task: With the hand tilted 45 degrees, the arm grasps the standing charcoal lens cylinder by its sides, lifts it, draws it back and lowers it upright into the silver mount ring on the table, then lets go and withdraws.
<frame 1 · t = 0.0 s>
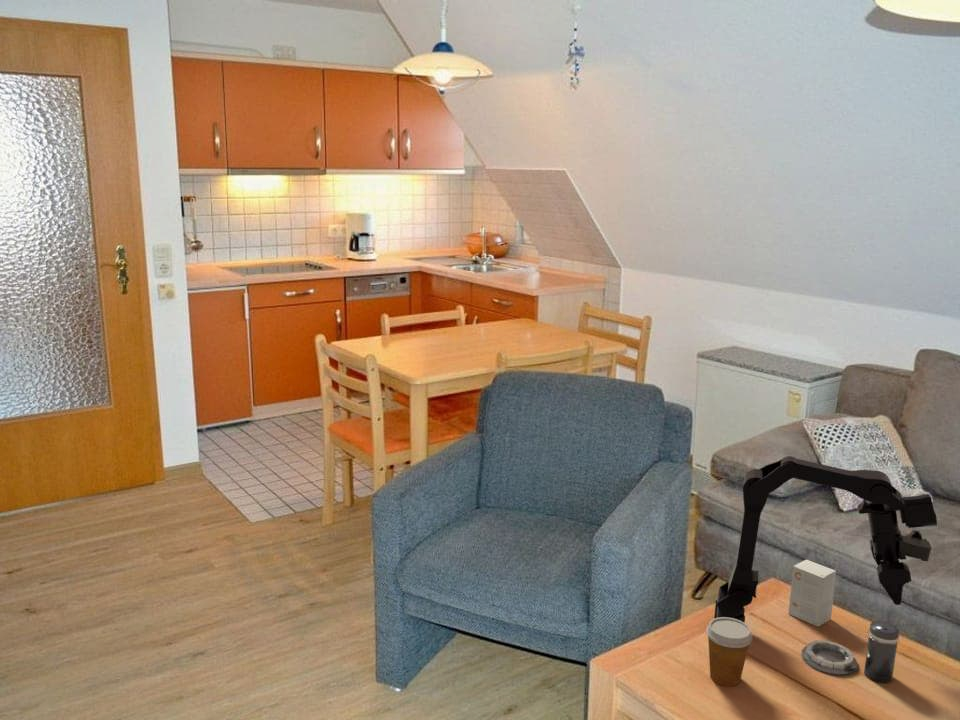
hand: (895, 594, 187), 15 cm above the table, tool pointing down, fingers open, 9 cm apart
mount ring: (828, 660, 189), on the table
disposable coffee cup: (724, 678, 182), on the table
lens: (878, 675, 183), on the table
small box: (809, 617, 208), on the table
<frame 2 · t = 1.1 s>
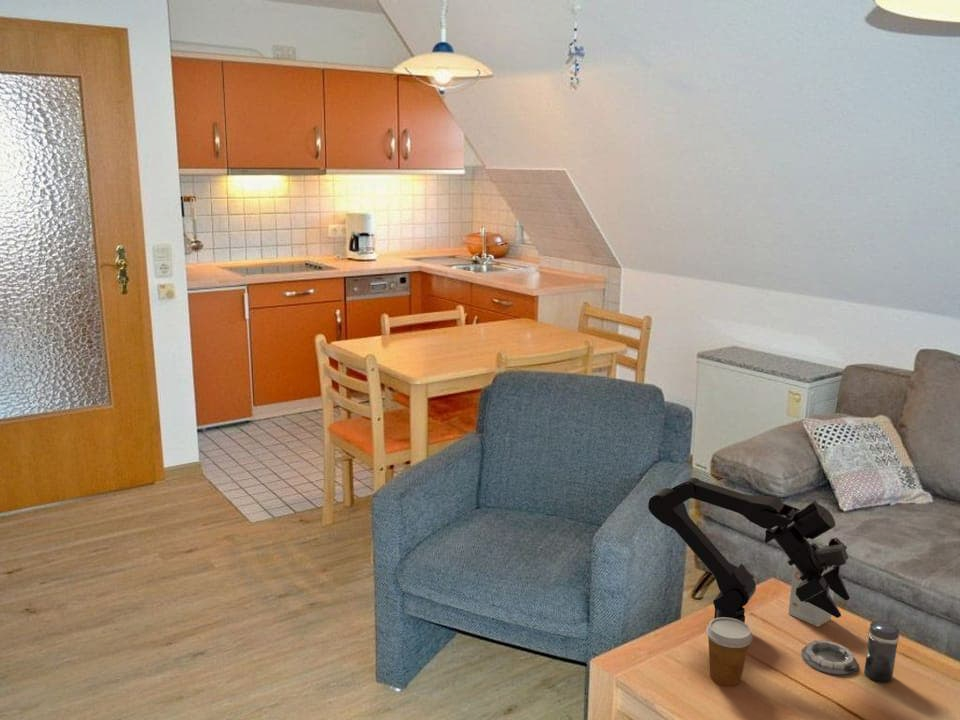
hand: (843, 608, 185), 13 cm above the table, tool tilted 45°, fingers open, 9 cm apart
nothing on the table moved.
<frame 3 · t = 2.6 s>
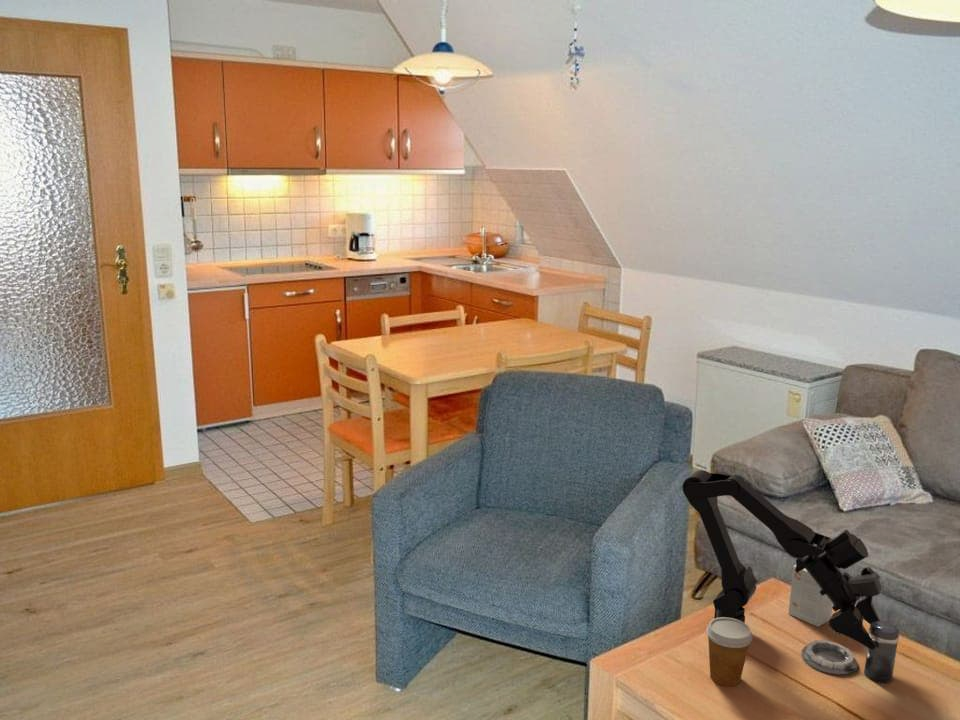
hand: (877, 638, 182), 9 cm above the table, tool tilted 45°, fingers open, 9 cm apart
nothing on the table moved.
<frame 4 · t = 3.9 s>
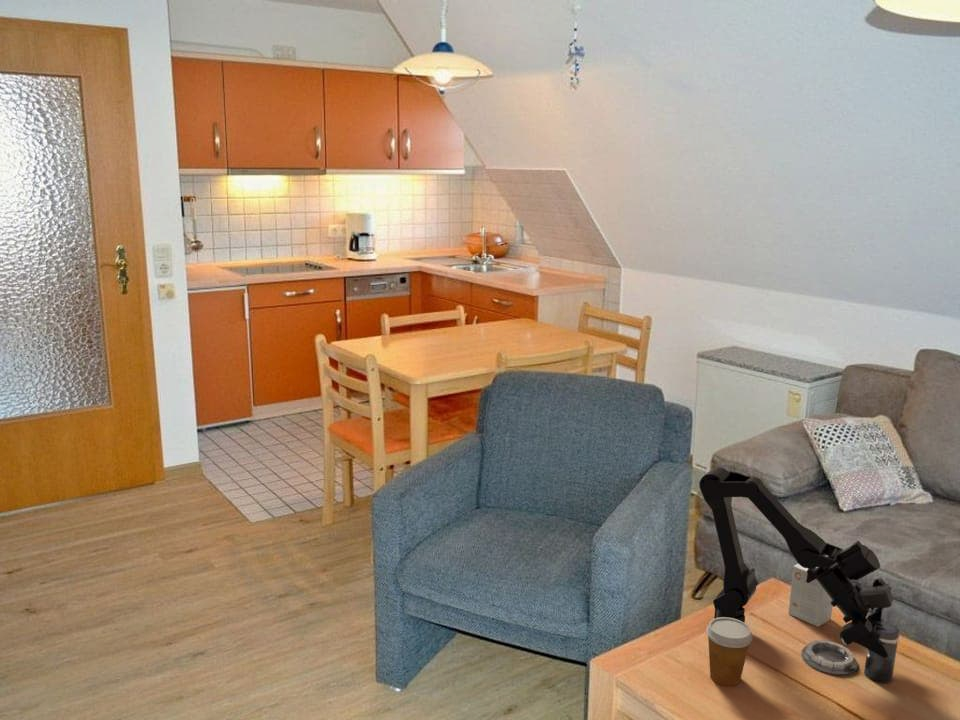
hand: (888, 650, 181), 7 cm above the table, tool tilted 45°, fingers closed on lens, 6 cm apart
lens: (878, 675, 183), on the table, touching gripper
everything else where it was.
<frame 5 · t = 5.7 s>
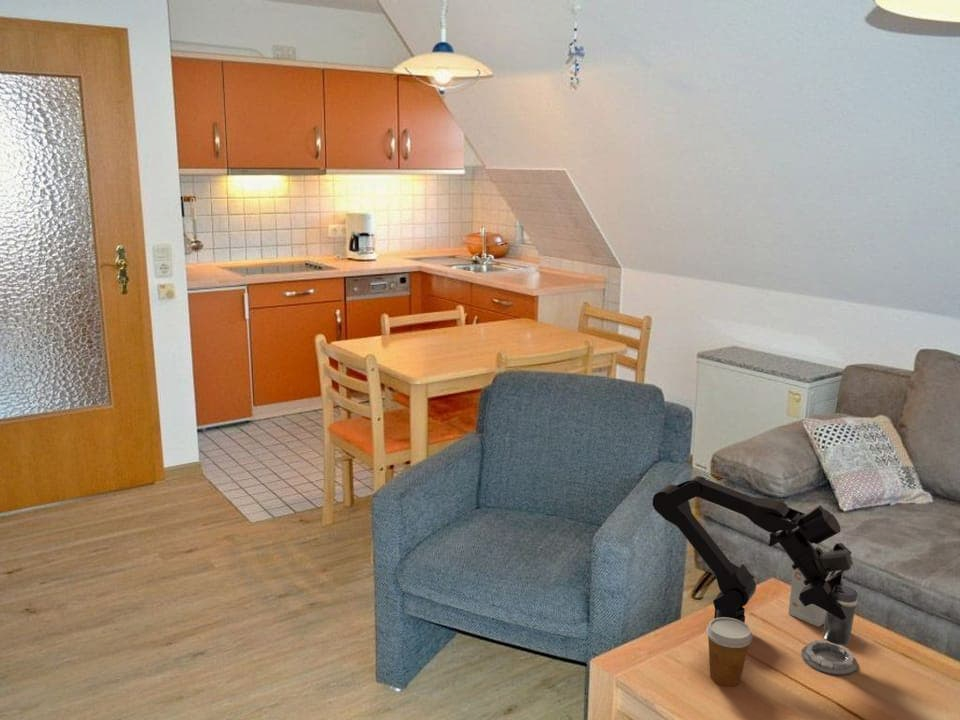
hand: (847, 613, 185), 12 cm above the table, tool tilted 45°, fingers closed on lens, 6 cm apart
lens: (836, 637, 187), point 6 cm above the table, touching gripper
everything else where it was.
when the fingers open (8 cm above the table, at t = 7.4 s): lens stays where it is, resting on mount ring.
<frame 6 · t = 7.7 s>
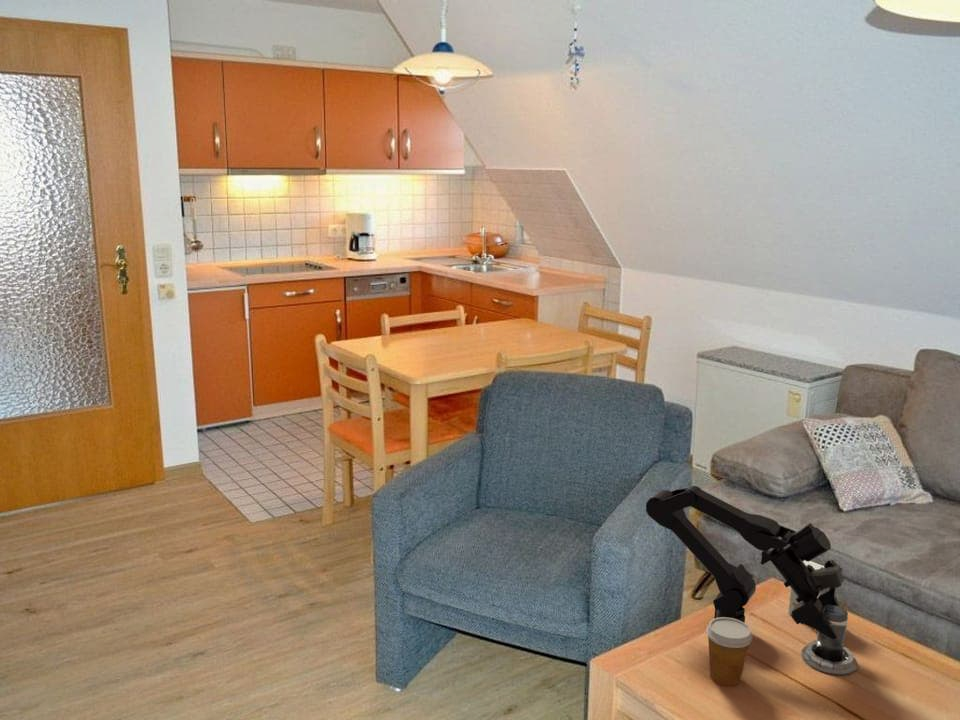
hand: (839, 629, 186), 8 cm above the table, tool tilted 45°, fingers open, 8 cm apart
lens: (828, 657, 189), point 1 cm above the table, touching mount ring
everything else where it was.
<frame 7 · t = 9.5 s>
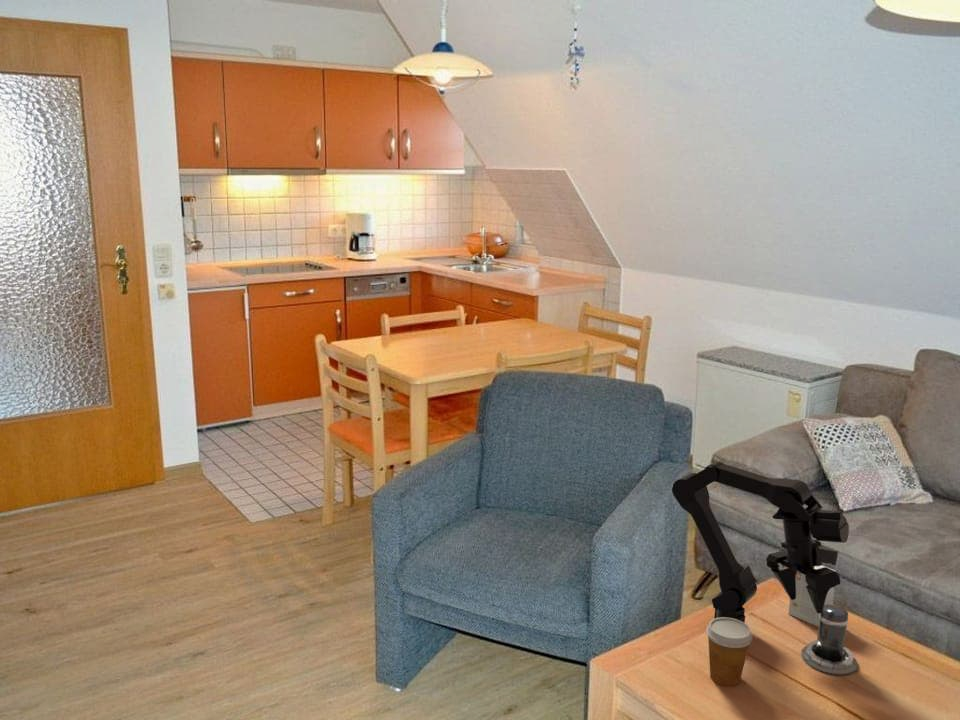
hand: (806, 606, 188), 12 cm above the table, tool pointing down, fingers open, 9 cm apart
nothing on the table moved.
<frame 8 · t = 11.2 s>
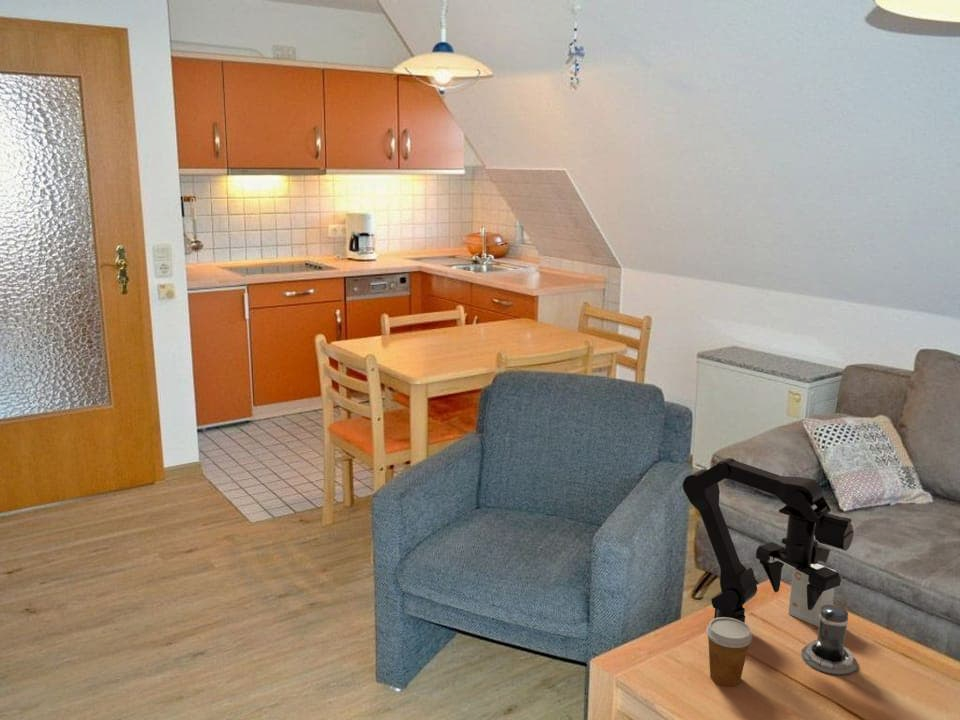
hand: (793, 600, 189), 13 cm above the table, tool pointing down, fingers open, 9 cm apart
nothing on the table moved.
at the end: lens 0.1 cm from the mount ring (horizontally); lens tilted 0°; lens point 0.6 cm above the table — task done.
